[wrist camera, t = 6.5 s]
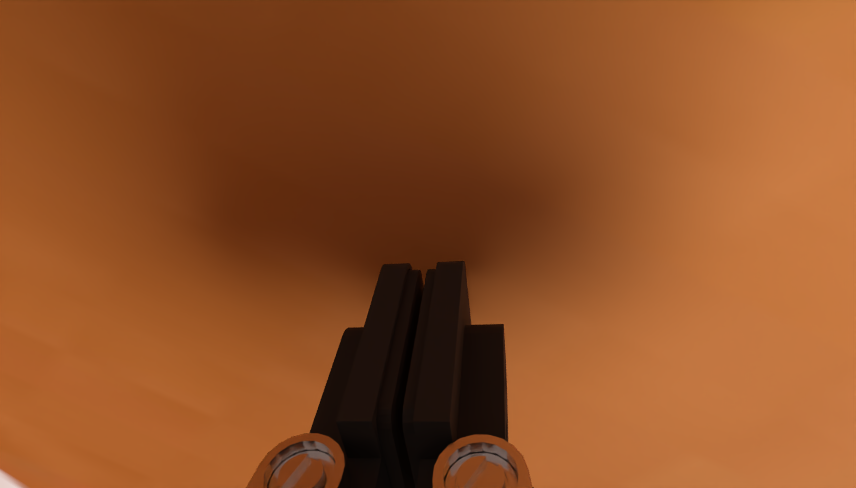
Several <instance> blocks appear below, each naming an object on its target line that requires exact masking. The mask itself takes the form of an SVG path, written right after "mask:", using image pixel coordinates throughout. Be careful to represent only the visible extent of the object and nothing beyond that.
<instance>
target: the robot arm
mask: <svg viewBox="0 0 856 488" xmlns="http://www.w3.org/2000/svg"><path fill="white" fill-rule="evenodd" d="M246 488H533V487H532V483H531V478H530V474H529V470H528V467H527V464H526V462H525V460H524V457H523V456H522V454H521V453H520V452H519V451H518V450H517V449H516V448H515V446H513V445H512V444H510V443H509V442H508V414H507V378H506V356H505V339H504V325H503V324H490V325H471V318H470V308H469V298H468V288H467V279H466V269H465V263H464V261H454V262H438V263H437V266H436V269H429V270H427V273H426V279H425V285H424V287H423V280H422V274H421V271H420V270H412V267H411V265H410V264H409V263H404V264H384V265H383V266H382V268H381V271H380V275H379V278H378V281H377V285H376V288H375V291H374V295H373V298H372V302H371V305H370V308H369V312H368V315H367V318H366V322H365V325H364V327H359V328H347V329H346V330H345V332H344V334H343V336H342V339H341V342H340V345H339V348H338V351H337V354H336V357H335V359H334V362H333V365H332V368H331V371H330V374H329V377H328V380H327V383H326V386H325V389H324V392H323V395H322V398H321V401H320V404H319V407H318V410H317V413H316V416H315V418H314V421H313V424H312V427H311V430H310V433H305V434H301V435H297V436H293V437H291V438H289V439H287V440H285V441H283V442H281V443H279V444H278V445H277V446H275V447H274V448H273V449H272V450H271V451H269V452H268V453H267V455H266V456H265V457H264V459H263V460H262V461H261V463H260V464H259V466H258V467H257V469H256V471H255V473H254V474H253V476H252V478H251V480H250V481H249V483H248V485H247V487H246Z"/></svg>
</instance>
